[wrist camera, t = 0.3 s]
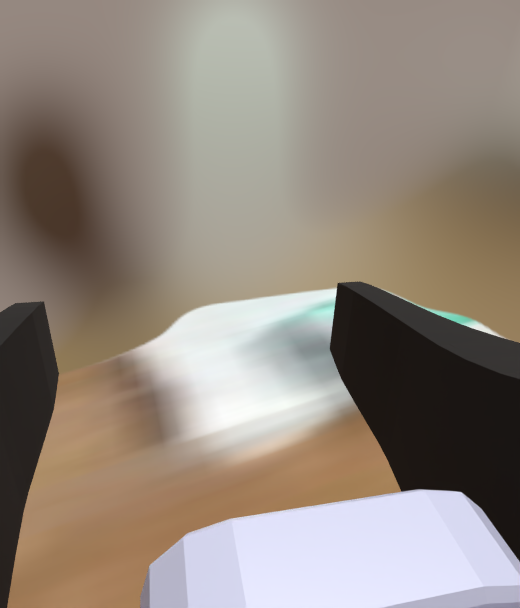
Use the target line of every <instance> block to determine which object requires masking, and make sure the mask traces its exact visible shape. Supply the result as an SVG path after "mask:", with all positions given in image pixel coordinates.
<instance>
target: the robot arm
mask: <svg viewBox="0 0 520 608" xmlns="http://www.w3.org/2000/svg"><path fill="white" fill-rule="evenodd" d="M330 351H331V353H332V356H333V359H334V361H335V364H336V367H337V369H338V372H339V374H340V376H341V379H342V381H343V382H344V384H345V386H346V388H347V390H348V391H349V393H350V395H351V397H352V398H353V400H354V402H355V404H356V405H357V407H358V409H359V410H360V412H361V414H362V415H363V417H364V419H365V421H366V422H367V424H368V426H369V427H370V429H371V431H372V432H373V434H374V436H375V438H376V439H377V441H378V443H379V444H380V446H381V448H382V450H383V452H384V454H385V456H386V458H387V460H388V462H389V464H390V467H391V469H392V471H393V473H394V476H395V478H396V480H397V482H398V485H399V487H400V489H401V491H402V492H398V493H392V494H385V495H379V496H372V497H366V498H360V499H353V500H347V501H341V502H334V503H328V504H322V505H315V506H309V507H303V508H296V509H290V510H284V511H277V512H271V513H265V514H258V515H252V516H246V517H239V518H233V519H228V520H225V521H223V522H220V523H217V524H214V525H211V526H208V527H205V528H202V529H199V530H196V531H193V532H190V533H187V534H186V535H185V536H184V537H183V538H182V539H180V540H179V541H178V542H177V543H176V544H174V545H173V546H172V547H171V548H170V549H168V550H167V551H166V552H165V553H164V554H162V555H161V556H160V557H159V558H158V559H157V560H155V561H154V562H153V563H152V564H151V565H150V566H149V569H148V573H147V576H146V579H145V583H144V586H143V590H142V593H141V604H140V608H520V343H518V342H514V341H511V340H507V339H504V338H500V337H497V336H494V335H491V334H488V333H485V332H482V331H478V330H475V329H472V328H470V327H467V326H464V325H461V324H459V323H456V322H454V321H451V320H449V319H446V318H444V317H441V316H439V315H436V314H434V313H432V312H430V311H427V310H425V309H423V308H421V307H418V306H416V305H414V304H412V303H410V302H407V301H405V300H403V299H401V298H399V297H397V296H394V295H392V294H390V293H388V292H386V291H383V290H381V289H379V288H377V287H374V286H372V285H369V284H366V283H363V282H346V283H338V286H337V294H336V302H335V310H334V318H333V327H332V335H331V343H330ZM58 375H59V372H58V368H57V363H56V358H55V353H54V349H53V343H52V339H51V334H50V329H49V324H48V319H47V315H46V310H45V305H44V302H31V303H15V304H14V305H11V306H10V307H8V308H7V309H5V310H3V311H2V312H0V608H7V604H8V598H9V592H10V586H11V579H12V573H13V567H14V561H15V555H16V550H17V544H18V539H19V533H20V528H21V523H22V517H23V512H24V508H25V504H26V500H27V496H28V492H29V489H30V485H31V482H32V479H33V476H34V472H35V469H36V466H37V463H38V459H39V456H40V453H41V450H42V446H43V443H44V440H45V437H46V433H47V430H48V427H49V423H50V420H51V417H52V413H53V410H54V404H55V397H56V391H57V383H58Z"/></svg>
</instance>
